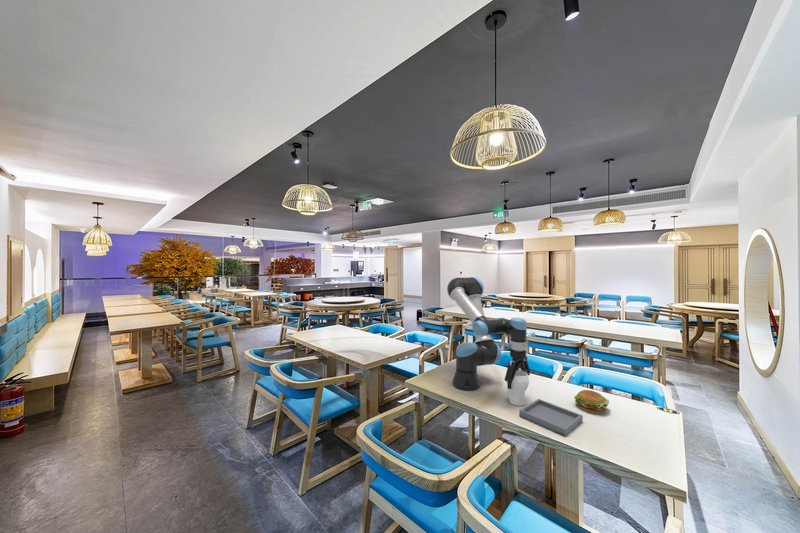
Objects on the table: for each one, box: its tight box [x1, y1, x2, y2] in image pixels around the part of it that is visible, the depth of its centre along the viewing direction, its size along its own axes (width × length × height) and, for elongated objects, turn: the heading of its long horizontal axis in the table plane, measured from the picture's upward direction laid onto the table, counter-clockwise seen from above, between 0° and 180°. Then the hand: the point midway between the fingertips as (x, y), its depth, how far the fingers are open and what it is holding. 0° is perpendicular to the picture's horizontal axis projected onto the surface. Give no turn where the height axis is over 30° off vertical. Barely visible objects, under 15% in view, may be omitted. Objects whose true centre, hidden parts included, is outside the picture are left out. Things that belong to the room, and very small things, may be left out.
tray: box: [518, 398, 584, 437], centre depth 136 cm, size 20×18×3 cm
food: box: [573, 389, 610, 414], centre depth 146 cm, size 14×14×8 cm
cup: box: [508, 369, 530, 407], centre depth 152 cm, size 11×11×15 cm
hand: (517, 391), depth 152 cm, fingers open, 13 cm apart
